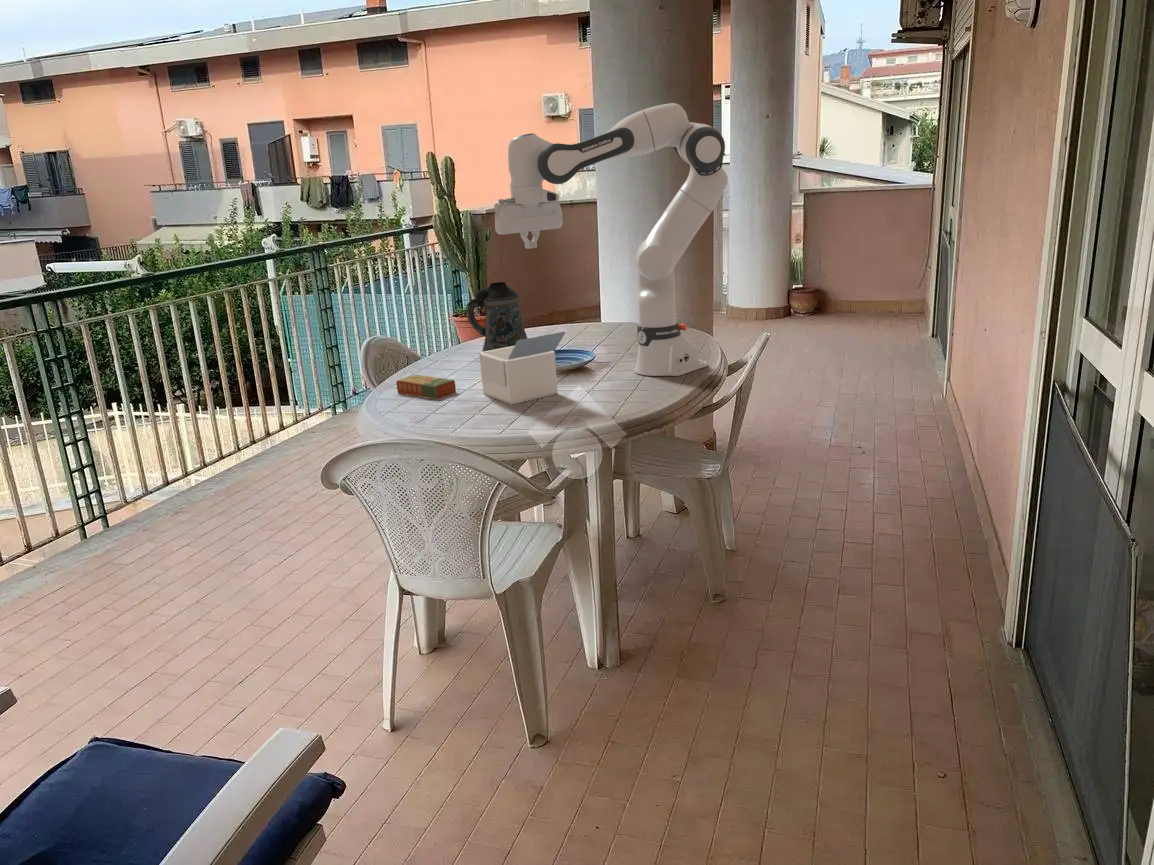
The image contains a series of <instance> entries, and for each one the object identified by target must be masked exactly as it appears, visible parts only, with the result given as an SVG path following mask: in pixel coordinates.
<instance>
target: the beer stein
mask: <svg viewBox="0 0 1154 865" xmlns="http://www.w3.org/2000/svg"><path fill="white" fill-rule="evenodd" d="M519 301H520V295H519V293H518V292H517V291H515V290H514V289H512V288H511V287H510V286H508V285H507V283H506V282H504V281H502V282H501V281H499V282H491V283H489V286H488V287H486V288H481V289H479V290H477V292H475V298H472V299H471V300H469V301H468V303H467V304H466V306H467V307H466V317H467V320H468V322H469V324H470V325H471V326H472V327H473V329H474V330H475V331H476V332H477V333H479V334H480V335H481V336H482V337H484V343H483V347H482V351H481V352H484V351H490V350H495V349H500V348H505V347H511V346H515V345H516V343H517V341H518V340H523V339H528V337H527V334H526V330H525V326H524V323H523V318H522V314H521V311H520V307H519ZM483 306H484V308H485V323H484V324H485V327H484V326H482V325H481V324H480V323H479V322H478V320H477V319H476V317H475V316H474V310H475V308H478V307H483Z"/></svg>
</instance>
